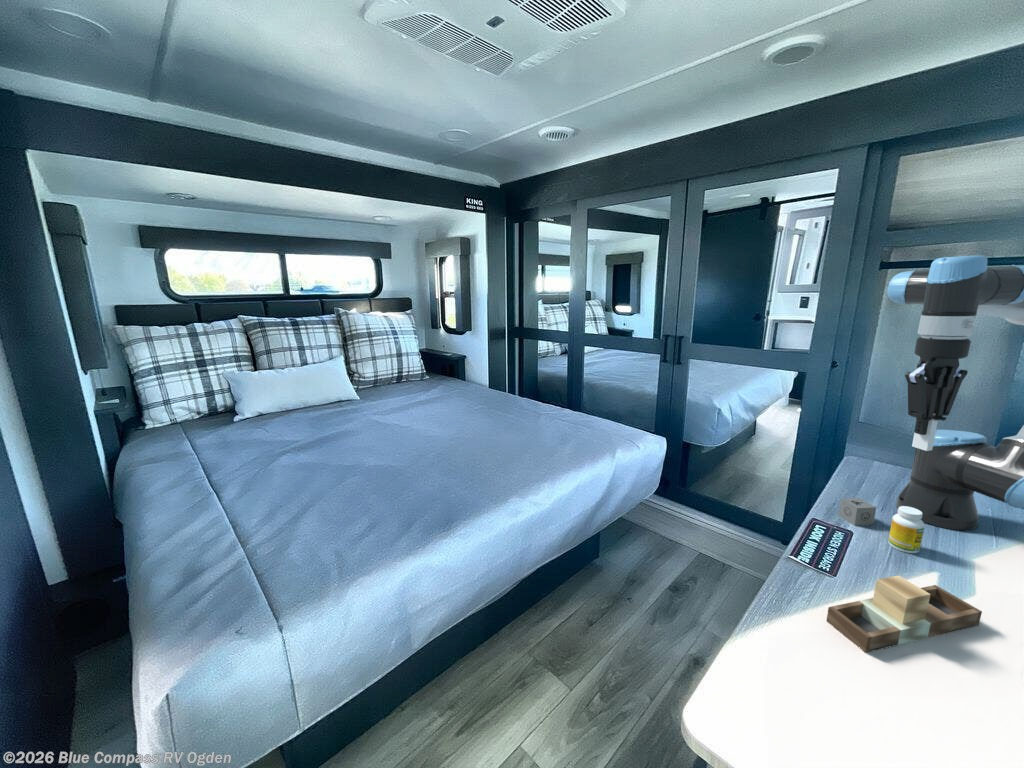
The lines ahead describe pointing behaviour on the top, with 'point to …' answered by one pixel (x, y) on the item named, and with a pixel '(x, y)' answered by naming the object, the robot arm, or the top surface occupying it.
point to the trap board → (882, 630)
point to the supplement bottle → (906, 530)
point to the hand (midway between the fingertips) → (921, 448)
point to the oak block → (901, 599)
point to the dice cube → (857, 511)
